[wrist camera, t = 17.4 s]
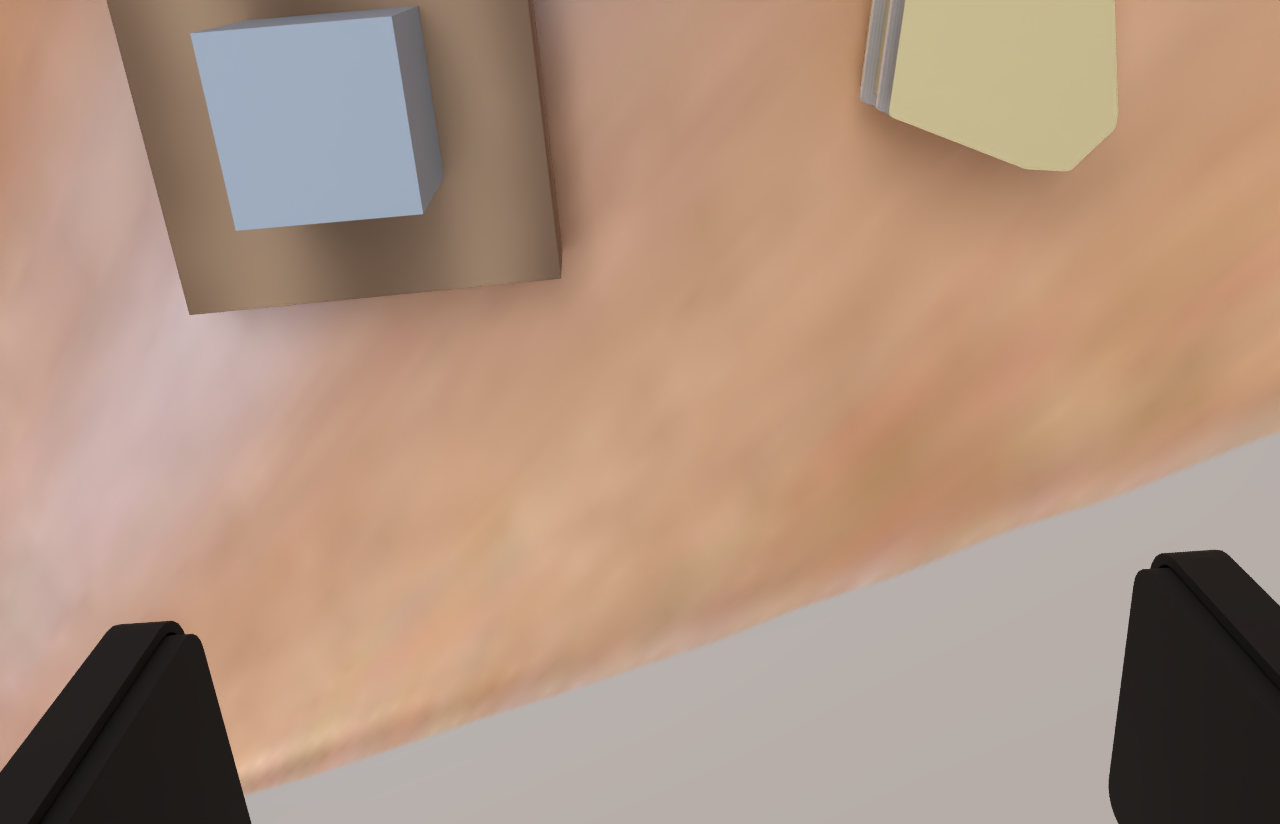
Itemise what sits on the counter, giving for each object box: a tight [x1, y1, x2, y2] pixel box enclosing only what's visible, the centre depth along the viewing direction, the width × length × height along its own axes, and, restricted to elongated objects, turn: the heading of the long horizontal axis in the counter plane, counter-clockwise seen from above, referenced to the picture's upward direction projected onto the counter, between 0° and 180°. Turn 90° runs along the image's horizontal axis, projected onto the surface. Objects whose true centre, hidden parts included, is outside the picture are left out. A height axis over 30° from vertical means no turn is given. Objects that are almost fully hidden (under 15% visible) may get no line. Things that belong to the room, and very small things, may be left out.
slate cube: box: [190, 6, 444, 231], centre depth 30 cm, size 5×5×5 cm
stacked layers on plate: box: [860, 0, 1118, 171], centre depth 34 cm, size 10×9×6 cm
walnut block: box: [107, 0, 562, 315], centre depth 34 cm, size 12×12×4 cm
